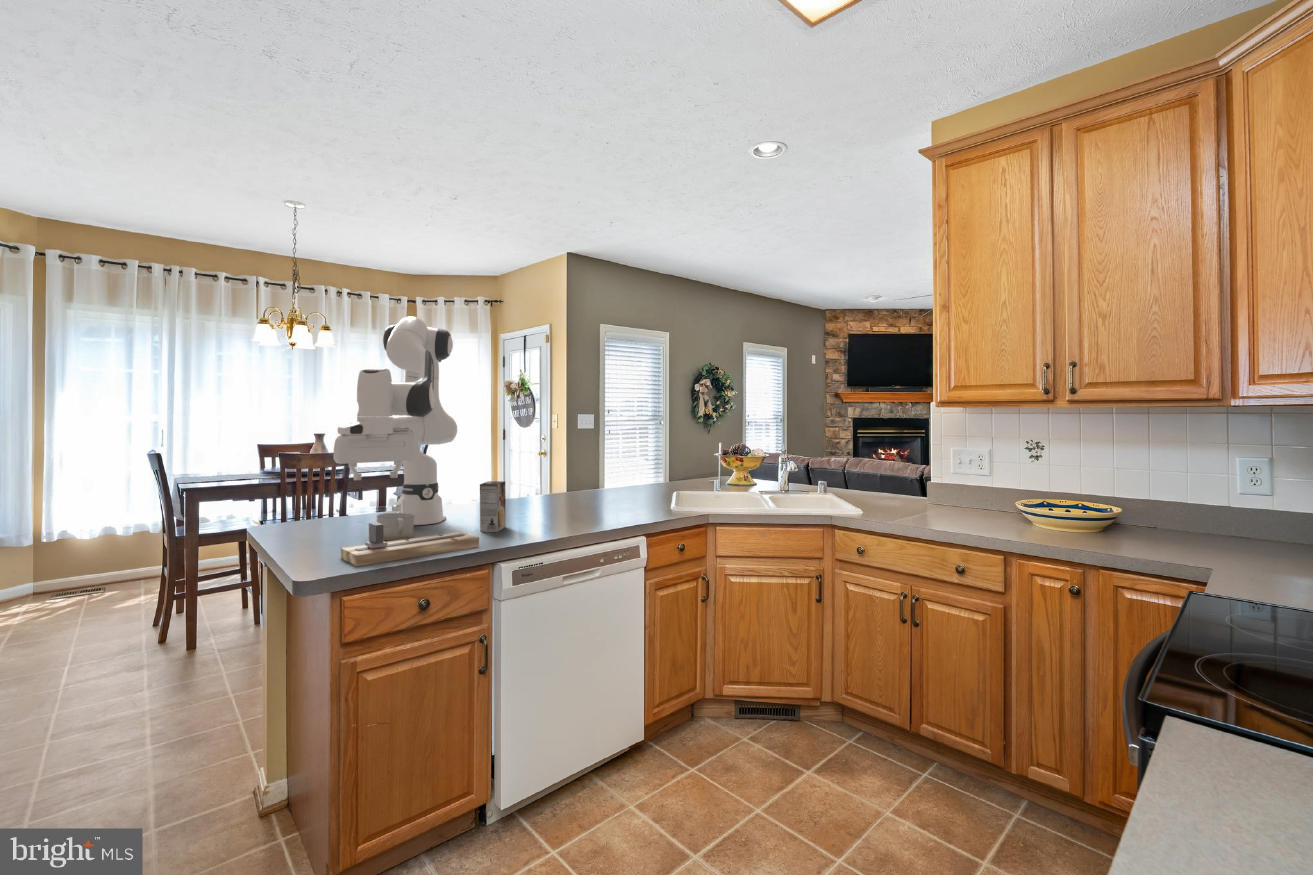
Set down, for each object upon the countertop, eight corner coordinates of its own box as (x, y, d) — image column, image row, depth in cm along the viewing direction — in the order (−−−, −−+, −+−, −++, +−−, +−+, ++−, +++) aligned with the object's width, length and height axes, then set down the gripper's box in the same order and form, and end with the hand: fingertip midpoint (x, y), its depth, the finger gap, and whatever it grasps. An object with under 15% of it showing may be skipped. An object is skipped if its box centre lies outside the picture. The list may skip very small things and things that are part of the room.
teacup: (377, 537, 191) (377, 512, 190) (414, 535, 195) (414, 510, 195) (375, 546, 178) (375, 519, 178) (415, 543, 182) (415, 517, 182)
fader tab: (365, 545, 163) (364, 523, 163) (380, 543, 166) (380, 521, 166) (371, 548, 160) (371, 525, 159) (387, 546, 162) (387, 524, 162)
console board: (341, 558, 162) (341, 546, 162) (459, 540, 186) (459, 530, 186) (356, 566, 154) (356, 554, 154) (479, 546, 178) (479, 536, 178)
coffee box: (487, 526, 210) (487, 480, 209) (506, 527, 210) (505, 481, 209) (479, 531, 201) (479, 483, 200) (498, 532, 201) (498, 484, 200)
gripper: (409, 427, 171) (409, 475, 172) (330, 427, 157) (331, 480, 157) (418, 427, 167) (419, 477, 167) (338, 428, 153) (339, 482, 153)
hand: (376, 479), depth 162 cm, fingers open, 8 cm apart
